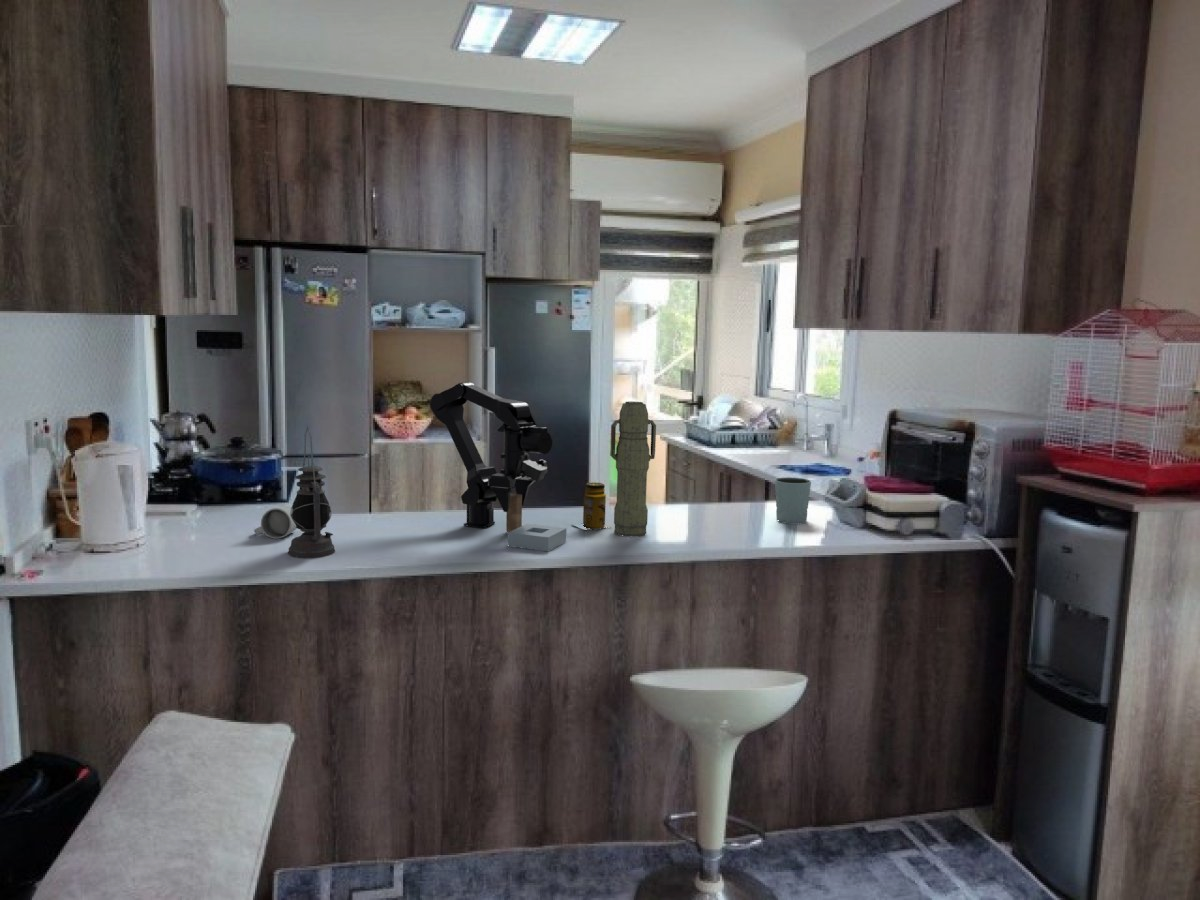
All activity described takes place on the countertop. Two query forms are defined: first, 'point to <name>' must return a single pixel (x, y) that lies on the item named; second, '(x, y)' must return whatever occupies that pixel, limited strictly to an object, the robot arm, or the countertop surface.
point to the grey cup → (792, 499)
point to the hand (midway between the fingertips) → (513, 508)
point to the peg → (514, 512)
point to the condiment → (594, 506)
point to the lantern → (311, 513)
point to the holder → (537, 537)
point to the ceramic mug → (277, 523)
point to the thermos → (632, 468)
